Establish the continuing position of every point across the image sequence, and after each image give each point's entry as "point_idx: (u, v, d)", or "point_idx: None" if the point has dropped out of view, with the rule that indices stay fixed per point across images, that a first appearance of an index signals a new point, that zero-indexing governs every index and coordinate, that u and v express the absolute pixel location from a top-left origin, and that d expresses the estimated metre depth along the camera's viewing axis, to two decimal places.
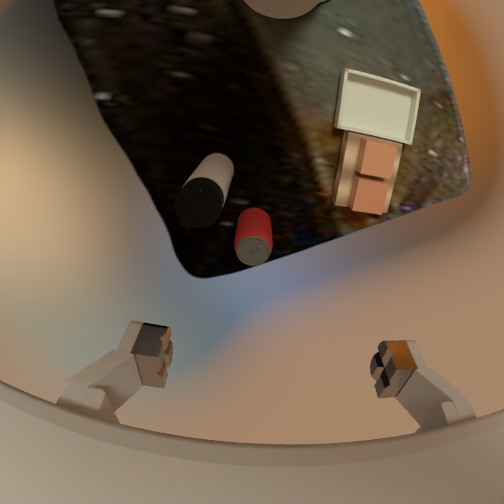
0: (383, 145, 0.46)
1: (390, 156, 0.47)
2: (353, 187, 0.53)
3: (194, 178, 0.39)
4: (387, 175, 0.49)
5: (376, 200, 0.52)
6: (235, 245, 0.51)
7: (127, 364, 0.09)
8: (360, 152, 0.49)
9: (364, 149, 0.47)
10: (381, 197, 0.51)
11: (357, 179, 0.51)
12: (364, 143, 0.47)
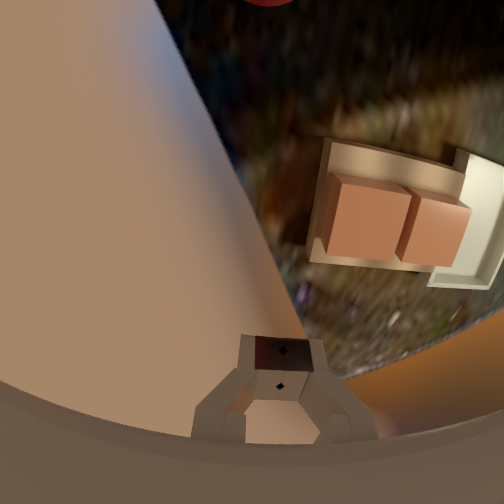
0: (459, 241, 0.23)
1: (440, 256, 0.24)
2: (378, 183, 0.23)
3: None
4: (409, 255, 0.24)
5: (360, 238, 0.23)
6: None
7: (252, 381, 0.09)
8: (440, 196, 0.23)
9: (458, 205, 0.22)
10: (366, 248, 0.24)
11: (404, 191, 0.22)
12: (461, 203, 0.22)
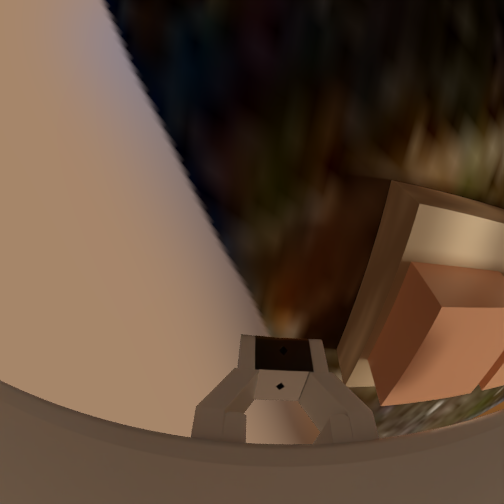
0: None
1: None
2: (482, 280, 0.11)
3: None
4: (494, 380, 0.12)
5: (440, 379, 0.11)
6: None
7: (253, 381, 0.09)
8: None
9: None
10: (444, 388, 0.11)
11: None
12: None
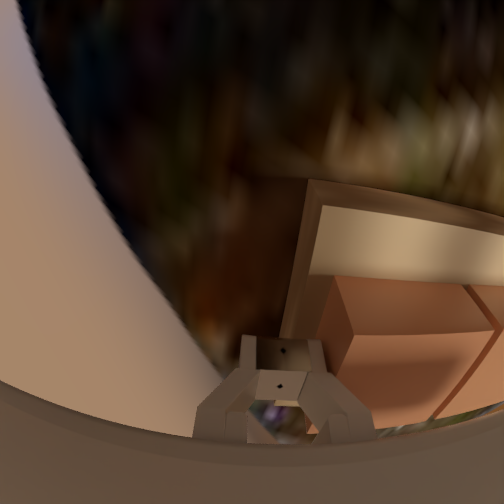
0: None
1: (496, 395, 0.11)
2: (431, 296, 0.10)
3: None
4: (450, 409, 0.11)
5: (377, 409, 0.10)
6: None
7: (254, 381, 0.09)
8: None
9: None
10: (385, 418, 0.10)
11: (479, 316, 0.09)
12: None
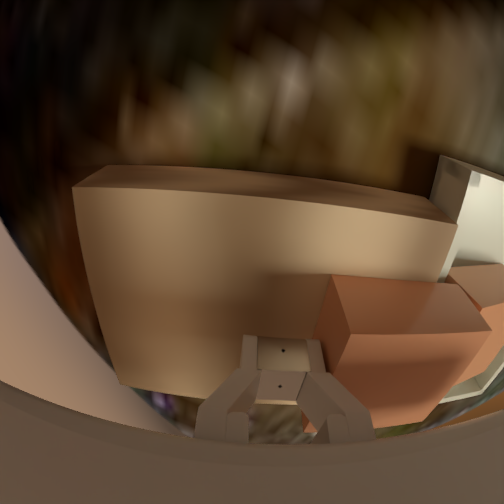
0: None
1: (476, 368, 0.13)
2: (428, 296, 0.10)
3: None
4: None
5: (373, 409, 0.10)
6: None
7: (255, 381, 0.09)
8: (491, 275, 0.12)
9: None
10: (382, 417, 0.11)
11: (477, 317, 0.09)
12: None
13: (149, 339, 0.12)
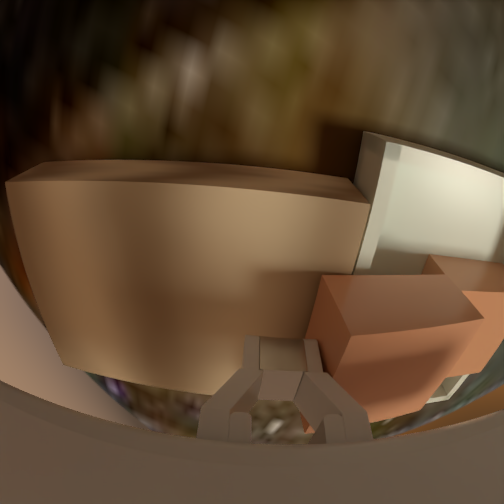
0: (500, 340, 0.12)
1: (467, 364, 0.13)
2: (419, 289, 0.10)
3: None
4: None
5: (373, 404, 0.10)
6: None
7: (257, 381, 0.09)
8: (483, 269, 0.12)
9: None
10: (381, 411, 0.11)
11: (468, 306, 0.09)
12: None
13: (75, 319, 0.12)
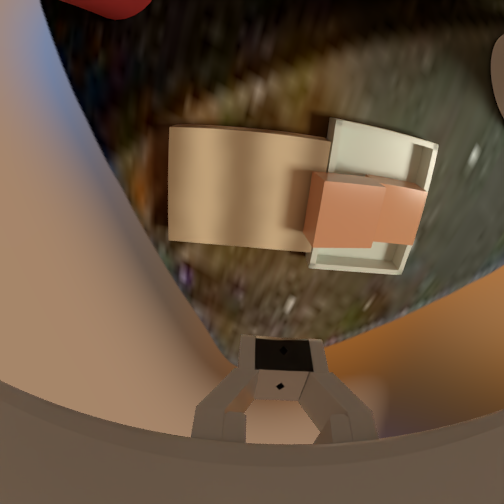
0: (417, 221, 0.28)
1: (400, 235, 0.28)
2: (354, 178, 0.26)
3: None
4: None
5: (342, 229, 0.26)
6: None
7: (253, 381, 0.09)
8: (398, 181, 0.28)
9: (413, 188, 0.26)
10: (348, 238, 0.26)
11: (378, 184, 0.25)
12: (417, 187, 0.27)
13: (192, 201, 0.27)
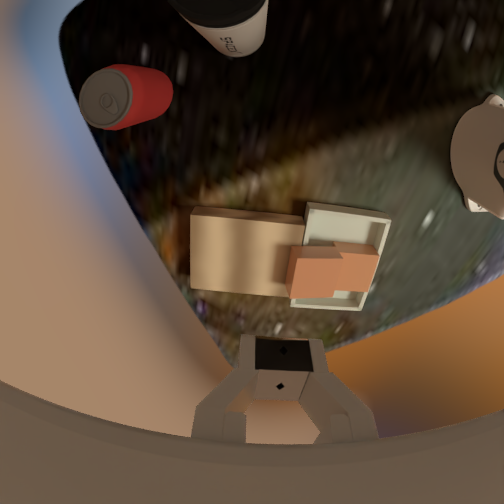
0: (371, 275, 0.40)
1: (357, 285, 0.41)
2: (321, 250, 0.38)
3: None
4: None
5: (310, 287, 0.38)
6: (113, 66, 0.21)
7: (253, 381, 0.09)
8: (357, 246, 0.40)
9: (367, 253, 0.39)
10: (315, 292, 0.39)
11: (338, 255, 0.37)
12: (372, 251, 0.39)
13: (208, 263, 0.40)
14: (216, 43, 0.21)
